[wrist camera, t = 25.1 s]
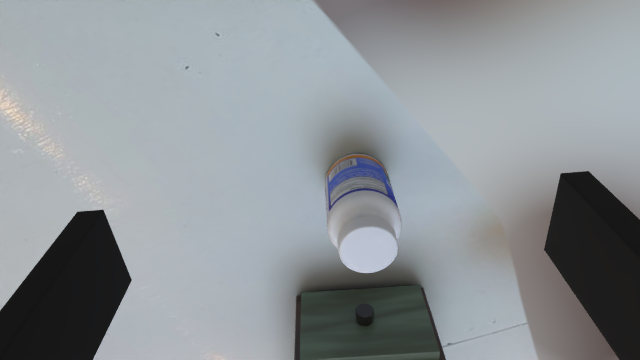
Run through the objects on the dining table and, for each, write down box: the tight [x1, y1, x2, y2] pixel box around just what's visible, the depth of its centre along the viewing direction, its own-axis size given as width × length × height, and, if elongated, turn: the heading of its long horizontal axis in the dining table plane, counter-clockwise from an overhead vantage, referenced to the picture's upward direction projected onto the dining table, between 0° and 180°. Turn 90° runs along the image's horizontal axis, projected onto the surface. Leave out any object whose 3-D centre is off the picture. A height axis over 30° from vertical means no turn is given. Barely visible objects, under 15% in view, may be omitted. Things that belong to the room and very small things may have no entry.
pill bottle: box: [325, 154, 402, 273], centre depth 34 cm, size 5×5×10 cm
